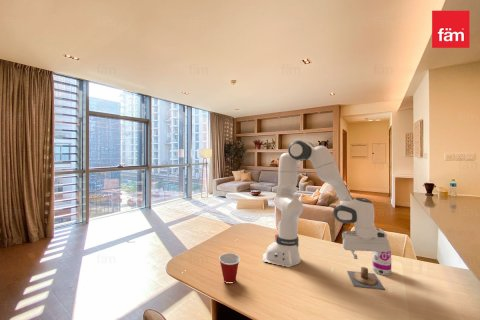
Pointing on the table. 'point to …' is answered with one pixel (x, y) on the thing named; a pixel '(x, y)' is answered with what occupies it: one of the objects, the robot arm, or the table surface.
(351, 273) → the mat
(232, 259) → the plastic cup
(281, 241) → the robot arm
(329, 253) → the table surface
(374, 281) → the lid
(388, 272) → the supplement can
